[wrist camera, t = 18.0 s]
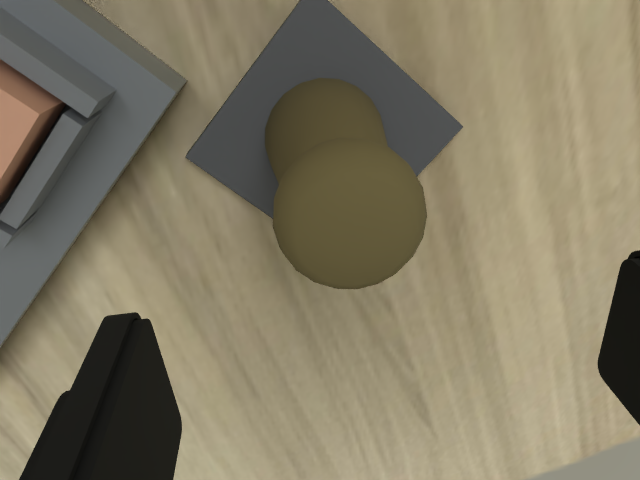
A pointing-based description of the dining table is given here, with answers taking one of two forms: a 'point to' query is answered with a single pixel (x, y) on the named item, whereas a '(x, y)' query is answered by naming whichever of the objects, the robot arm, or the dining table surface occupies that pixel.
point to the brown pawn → (340, 187)
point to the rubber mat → (304, 65)
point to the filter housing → (71, 133)
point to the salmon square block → (22, 123)
